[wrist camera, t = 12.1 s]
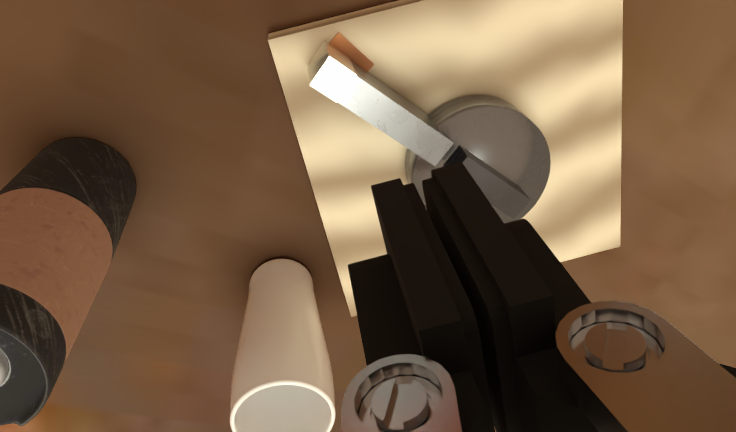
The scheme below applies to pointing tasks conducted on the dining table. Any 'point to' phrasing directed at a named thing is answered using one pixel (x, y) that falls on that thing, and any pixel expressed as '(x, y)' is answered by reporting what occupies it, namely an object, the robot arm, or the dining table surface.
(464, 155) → the silver piece
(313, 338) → the drinking glass
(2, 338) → the travel mug
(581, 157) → the board
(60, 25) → the dining table surface
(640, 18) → the dining table surface
